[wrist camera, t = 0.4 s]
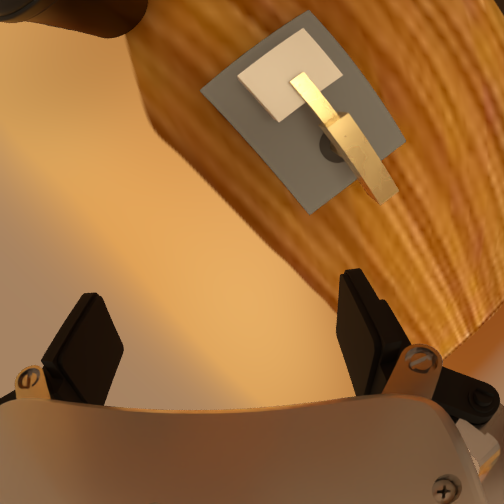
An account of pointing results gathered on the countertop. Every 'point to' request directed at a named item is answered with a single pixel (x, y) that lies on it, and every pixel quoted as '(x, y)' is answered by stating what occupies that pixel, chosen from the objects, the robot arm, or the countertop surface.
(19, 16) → the water bottle
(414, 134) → the countertop surface
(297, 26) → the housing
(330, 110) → the key
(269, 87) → the cream rectangular block
